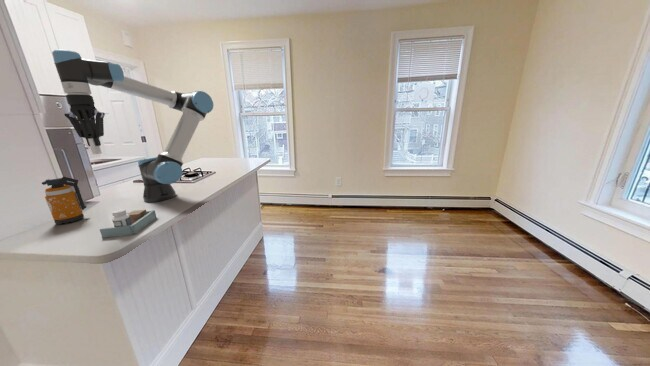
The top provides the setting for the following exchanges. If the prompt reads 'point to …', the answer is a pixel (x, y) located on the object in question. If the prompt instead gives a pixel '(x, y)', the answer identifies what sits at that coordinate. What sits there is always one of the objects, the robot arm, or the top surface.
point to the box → (131, 228)
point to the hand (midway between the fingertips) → (97, 153)
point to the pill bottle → (121, 218)
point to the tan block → (137, 215)
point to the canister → (64, 200)
